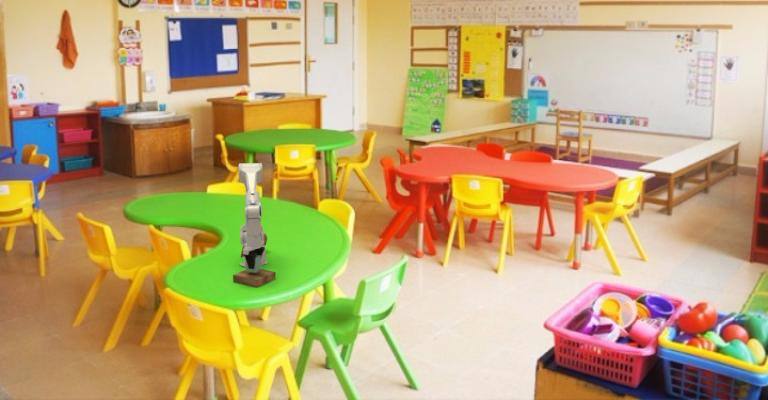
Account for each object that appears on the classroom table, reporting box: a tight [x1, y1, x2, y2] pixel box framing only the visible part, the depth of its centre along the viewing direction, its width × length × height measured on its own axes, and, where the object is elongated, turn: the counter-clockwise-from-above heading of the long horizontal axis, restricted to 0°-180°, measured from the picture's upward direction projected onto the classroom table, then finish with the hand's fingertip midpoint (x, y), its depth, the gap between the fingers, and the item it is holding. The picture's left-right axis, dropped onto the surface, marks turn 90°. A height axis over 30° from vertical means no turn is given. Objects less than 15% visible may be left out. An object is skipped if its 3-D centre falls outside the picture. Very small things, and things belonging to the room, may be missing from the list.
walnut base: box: [232, 268, 276, 288], centre depth 320 cm, size 12×12×3 cm
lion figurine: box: [240, 232, 268, 258], centre depth 352 cm, size 15×5×9 cm, turn 139°
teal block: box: [245, 255, 262, 273], centre depth 318 cm, size 4×4×6 cm
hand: (254, 266), depth 319 cm, fingers closed on teal block, 4 cm apart
